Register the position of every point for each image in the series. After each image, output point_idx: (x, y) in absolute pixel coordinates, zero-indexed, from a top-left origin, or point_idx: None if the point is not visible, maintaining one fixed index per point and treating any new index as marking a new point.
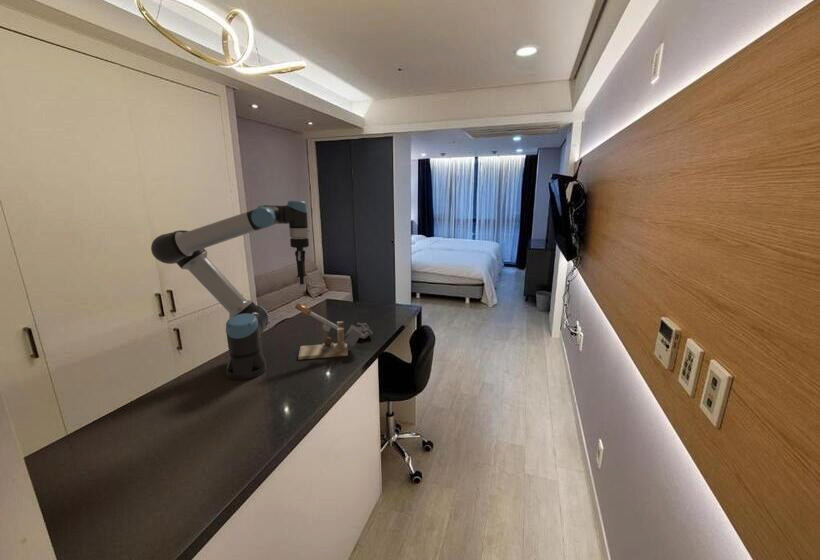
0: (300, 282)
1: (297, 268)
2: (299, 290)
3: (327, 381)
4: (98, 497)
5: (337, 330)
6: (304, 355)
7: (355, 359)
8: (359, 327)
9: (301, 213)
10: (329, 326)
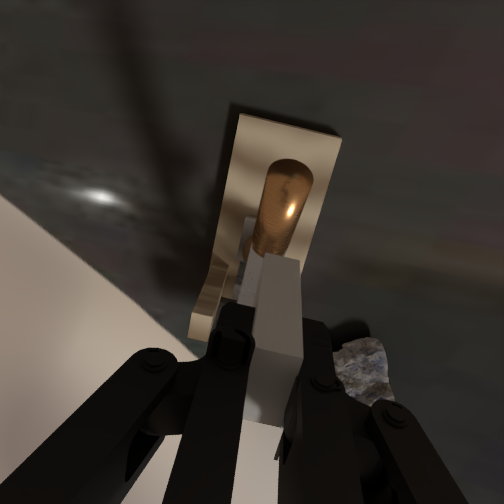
0: (220, 317)
1: (22, 467)
2: (265, 257)
3: (49, 183)
4: None
5: (193, 311)
6: (239, 140)
7: (170, 299)
8: (357, 390)
9: None
10: (233, 293)
